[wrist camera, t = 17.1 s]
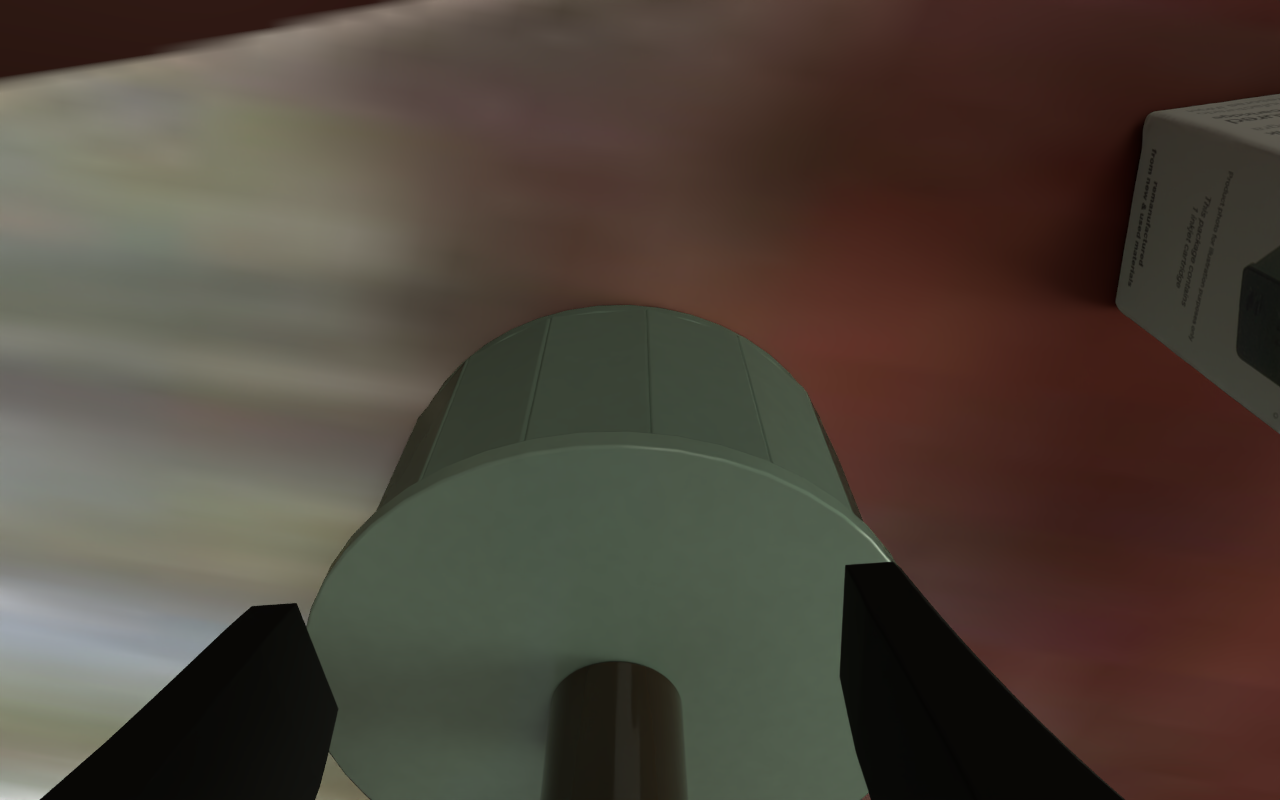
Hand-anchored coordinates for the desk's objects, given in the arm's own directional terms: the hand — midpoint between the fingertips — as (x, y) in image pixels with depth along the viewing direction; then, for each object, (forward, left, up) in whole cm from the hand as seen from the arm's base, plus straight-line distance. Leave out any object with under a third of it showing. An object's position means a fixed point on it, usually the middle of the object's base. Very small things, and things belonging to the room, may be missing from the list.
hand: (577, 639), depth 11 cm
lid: (-5, 0, -4) cm, 6 cm away
